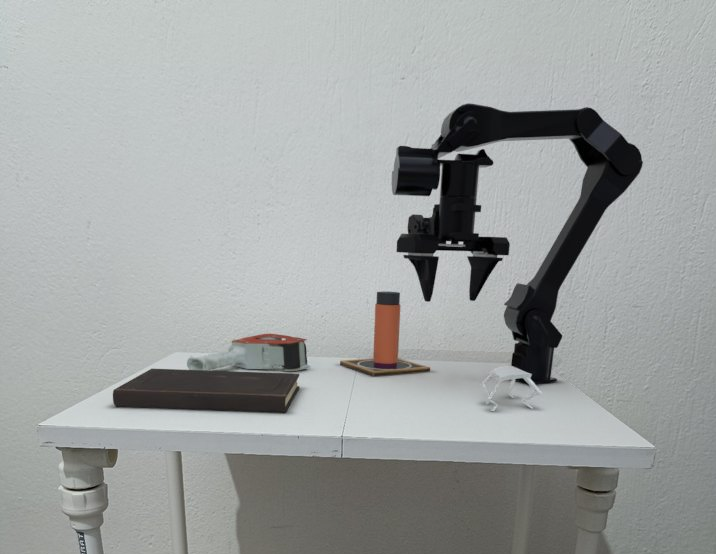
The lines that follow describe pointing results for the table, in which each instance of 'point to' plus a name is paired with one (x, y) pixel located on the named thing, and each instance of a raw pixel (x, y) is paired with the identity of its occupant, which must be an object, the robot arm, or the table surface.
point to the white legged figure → (509, 374)
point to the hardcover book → (209, 390)
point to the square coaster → (368, 368)
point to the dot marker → (386, 330)
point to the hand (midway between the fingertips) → (450, 301)
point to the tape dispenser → (257, 354)
